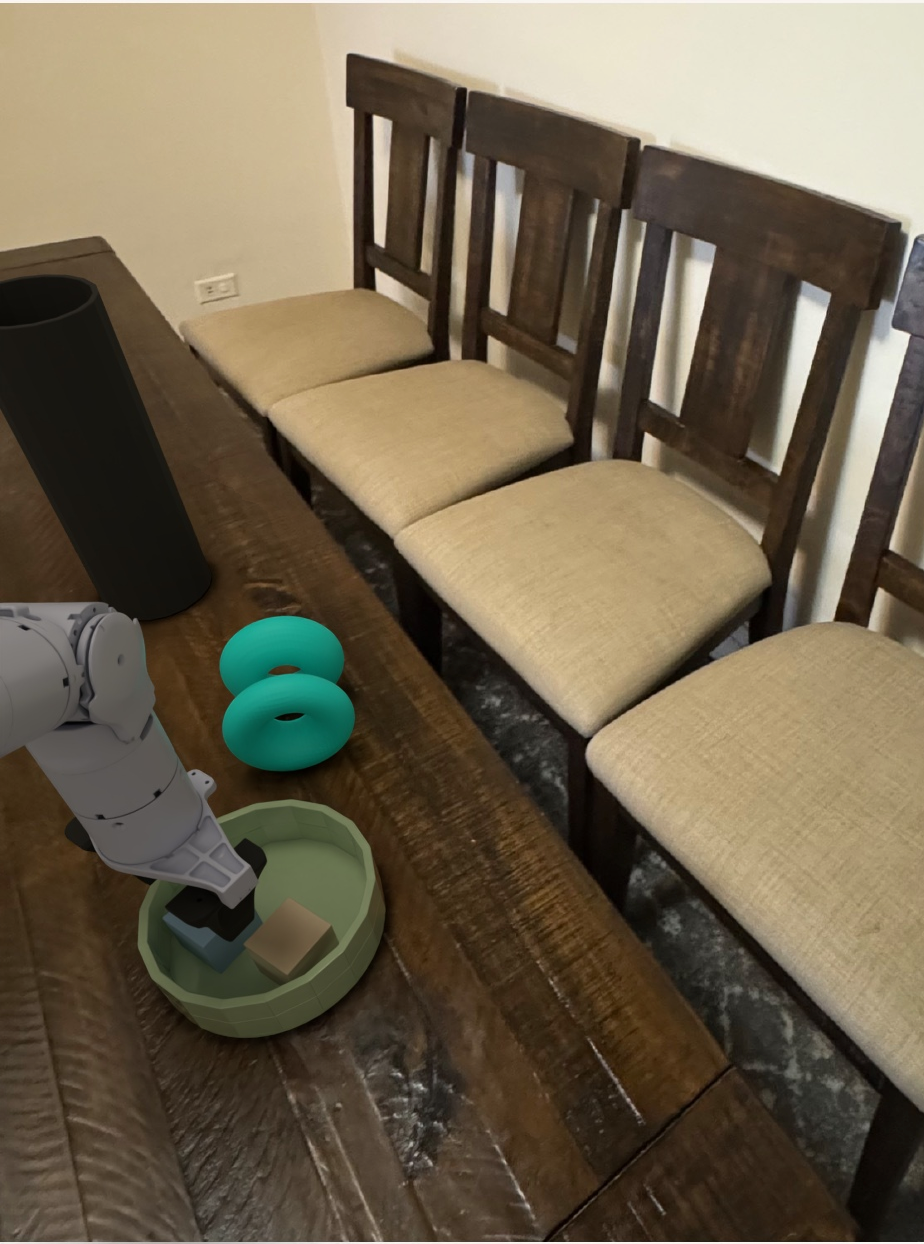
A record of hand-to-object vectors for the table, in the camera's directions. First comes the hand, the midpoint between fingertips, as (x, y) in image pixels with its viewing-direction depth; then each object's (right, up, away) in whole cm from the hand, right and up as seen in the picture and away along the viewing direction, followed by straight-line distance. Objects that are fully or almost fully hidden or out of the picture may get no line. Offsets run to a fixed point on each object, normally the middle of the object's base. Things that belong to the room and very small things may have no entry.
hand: (198, 899), depth 57 cm
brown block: (+6, -5, +3) cm, 8 cm away
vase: (-19, +22, +31) cm, 43 cm away
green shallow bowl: (+3, -4, +5) cm, 7 cm away
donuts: (0, +9, +18) cm, 20 cm away
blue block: (0, -4, +4) cm, 6 cm away
